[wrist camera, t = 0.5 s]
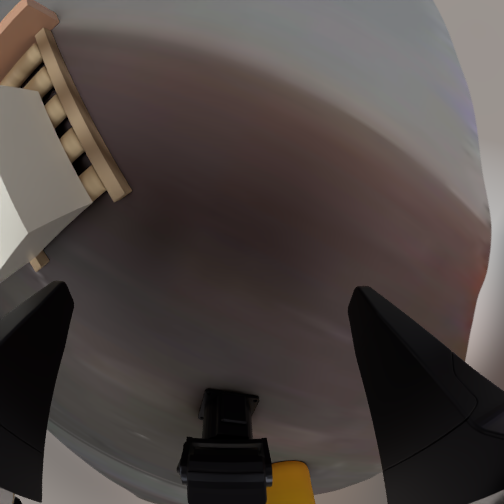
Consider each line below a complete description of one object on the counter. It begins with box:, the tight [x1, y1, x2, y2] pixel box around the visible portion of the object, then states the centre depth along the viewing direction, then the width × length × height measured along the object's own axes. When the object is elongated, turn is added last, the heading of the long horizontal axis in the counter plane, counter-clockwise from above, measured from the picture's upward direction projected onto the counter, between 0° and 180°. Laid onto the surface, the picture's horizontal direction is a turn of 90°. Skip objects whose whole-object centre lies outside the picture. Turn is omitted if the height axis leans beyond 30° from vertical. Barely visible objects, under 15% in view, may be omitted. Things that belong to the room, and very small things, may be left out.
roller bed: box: [0, 27, 132, 272], centre depth 17 cm, size 21×14×2 cm, turn 29°
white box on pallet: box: [0, 85, 93, 283], centre depth 13 cm, size 12×9×8 cm
